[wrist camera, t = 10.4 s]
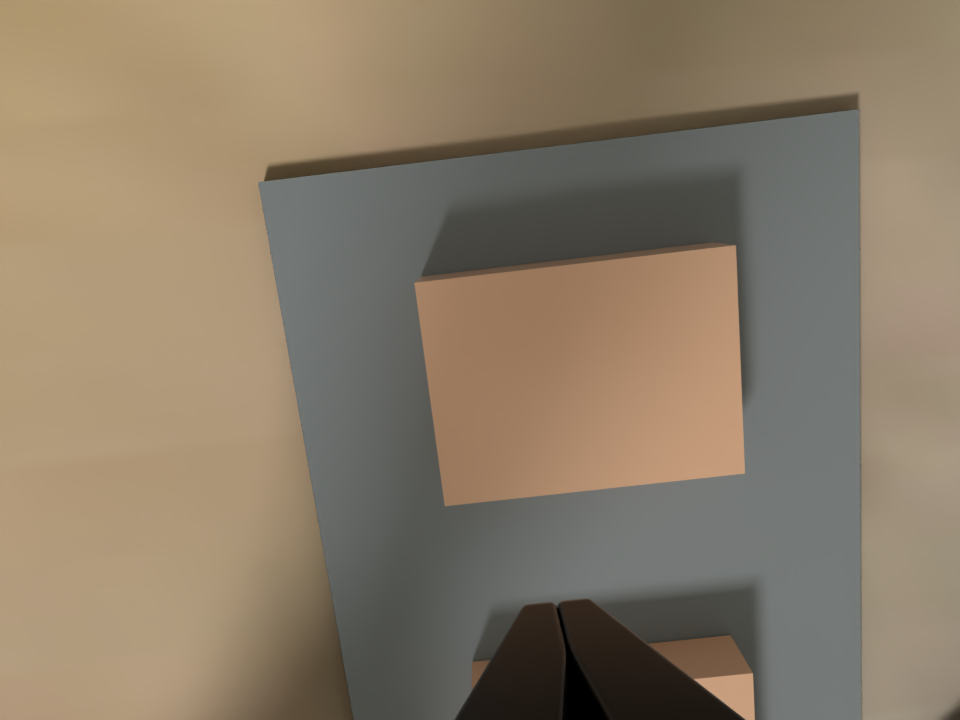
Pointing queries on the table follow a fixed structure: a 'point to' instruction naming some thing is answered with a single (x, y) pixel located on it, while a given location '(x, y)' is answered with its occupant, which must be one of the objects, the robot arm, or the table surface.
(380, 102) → the table surface
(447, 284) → the tile
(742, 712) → the tile
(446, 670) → the slate mat
